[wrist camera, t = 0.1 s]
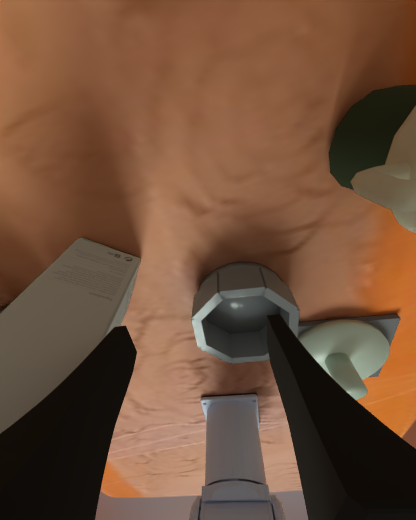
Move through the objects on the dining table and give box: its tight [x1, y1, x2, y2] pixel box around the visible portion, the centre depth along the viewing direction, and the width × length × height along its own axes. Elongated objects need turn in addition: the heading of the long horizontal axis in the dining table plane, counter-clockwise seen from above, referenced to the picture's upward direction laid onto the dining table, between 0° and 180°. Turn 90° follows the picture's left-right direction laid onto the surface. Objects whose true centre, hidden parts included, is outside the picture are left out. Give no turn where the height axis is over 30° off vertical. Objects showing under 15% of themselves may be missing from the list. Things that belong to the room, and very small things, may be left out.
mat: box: [297, 314, 400, 377], centre depth 27 cm, size 10×12×1 cm
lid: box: [297, 319, 390, 400], centre depth 25 cm, size 11×11×4 cm
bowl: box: [191, 262, 299, 363], centre depth 22 cm, size 9×9×4 cm
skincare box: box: [0, 238, 141, 433], centre depth 16 cm, size 8×6×15 cm
